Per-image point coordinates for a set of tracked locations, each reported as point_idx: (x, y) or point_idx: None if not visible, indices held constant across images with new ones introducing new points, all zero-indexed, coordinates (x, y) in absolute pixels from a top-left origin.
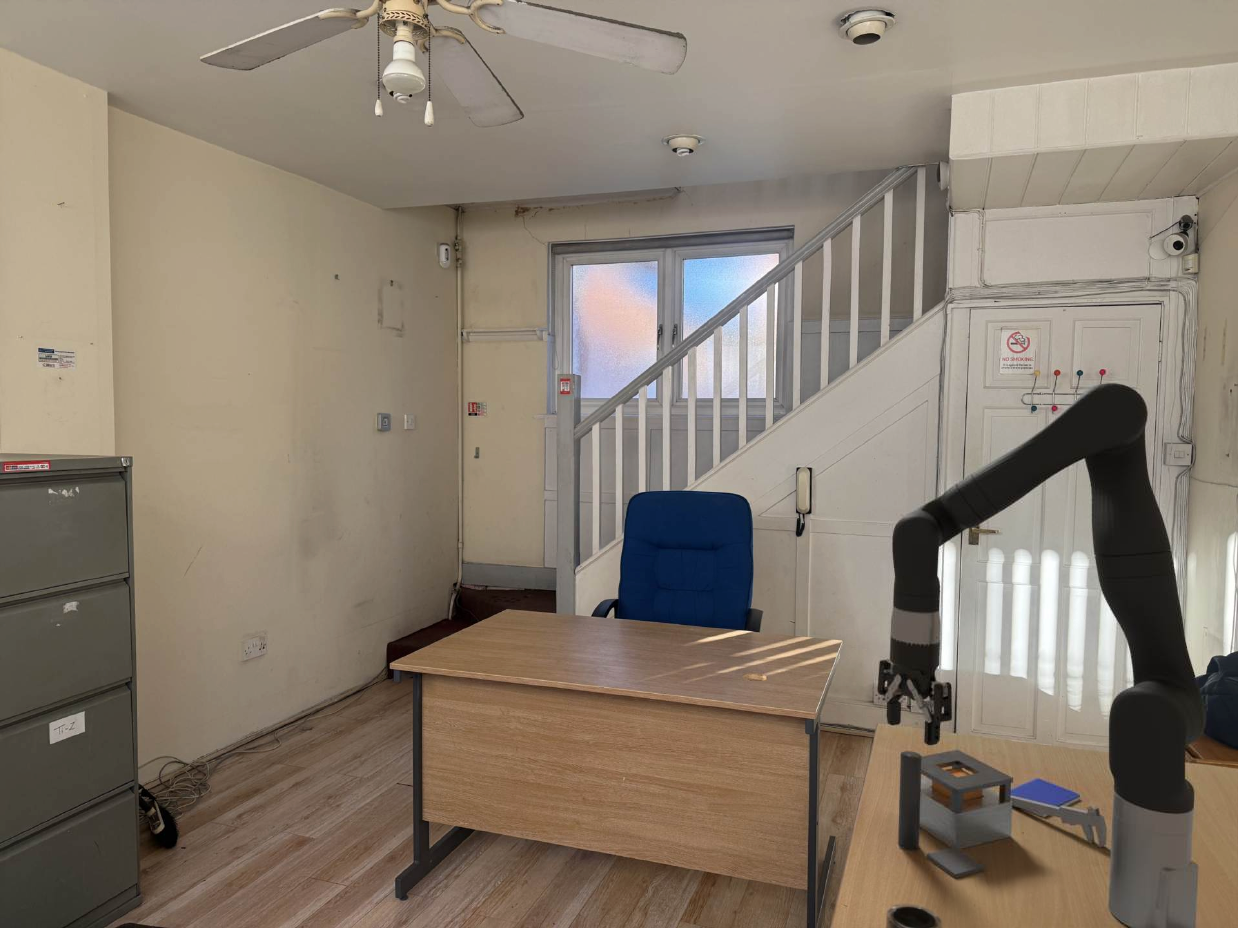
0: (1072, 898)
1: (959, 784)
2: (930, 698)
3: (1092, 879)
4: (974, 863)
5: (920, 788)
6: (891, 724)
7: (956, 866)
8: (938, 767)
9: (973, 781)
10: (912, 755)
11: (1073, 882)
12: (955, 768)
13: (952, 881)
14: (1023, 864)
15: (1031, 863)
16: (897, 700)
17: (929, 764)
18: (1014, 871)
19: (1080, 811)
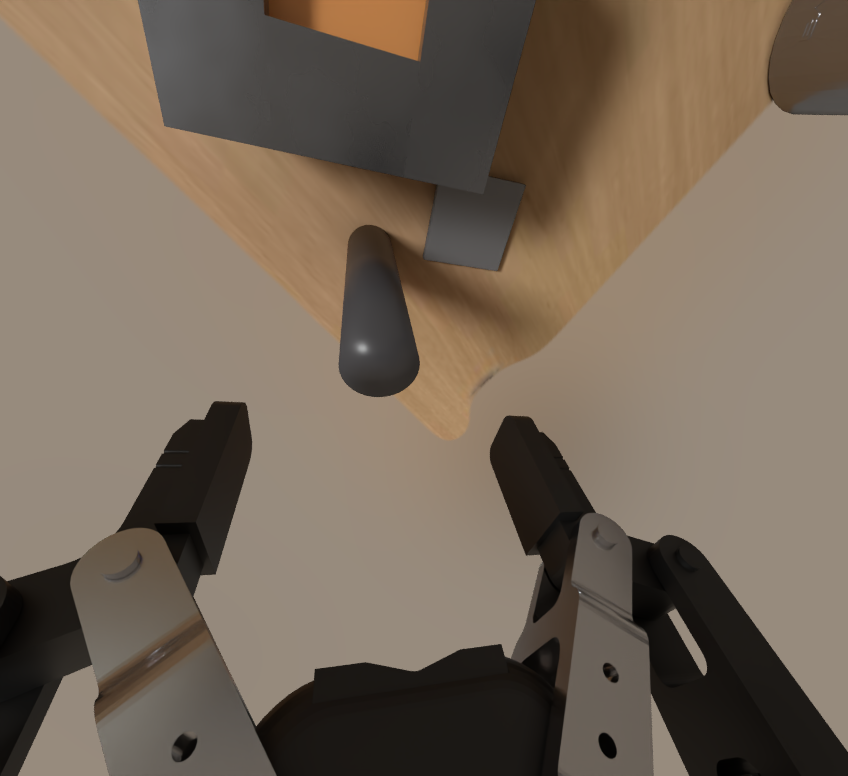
0: (693, 109)
1: (465, 137)
2: (568, 665)
3: None
4: (505, 197)
5: (402, 294)
6: (250, 445)
7: (485, 244)
8: (298, 35)
9: (488, 30)
10: (383, 362)
11: (699, 14)
12: None
13: (496, 281)
14: (580, 53)
15: (596, 20)
16: (183, 555)
17: (251, 48)
18: (571, 119)
19: None
